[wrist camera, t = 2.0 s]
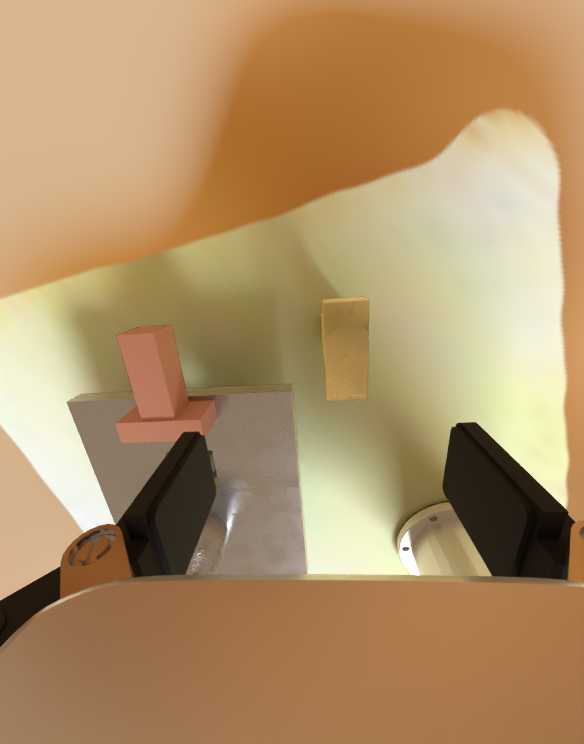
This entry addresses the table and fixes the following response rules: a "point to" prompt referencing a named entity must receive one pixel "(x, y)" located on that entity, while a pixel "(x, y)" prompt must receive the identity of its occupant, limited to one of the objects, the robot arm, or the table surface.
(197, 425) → the bracket
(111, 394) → the square metal plate
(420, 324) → the table surface
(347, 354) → the yellow block
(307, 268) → the table surface
